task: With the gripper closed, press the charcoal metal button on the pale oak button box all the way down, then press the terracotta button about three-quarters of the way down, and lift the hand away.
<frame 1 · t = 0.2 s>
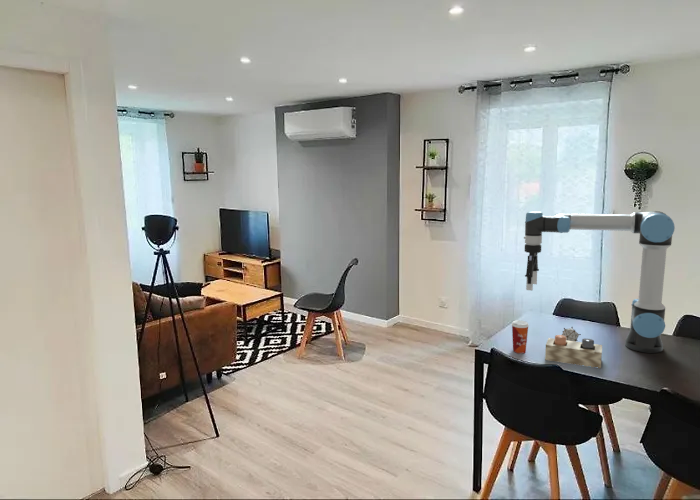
hand: (531, 287, 228), 28 cm above the table, tool pointing down, fingers open, 13 cm apart
terracotta button: (560, 342, 209), point 7 cm above the table, slide at 0.0 cm
charcoal button: (587, 346, 204), point 7 cm above the table, slide at 0.0 cm
button box: (573, 359, 208), on the table
paper cup: (519, 351, 220), on the table
spiked grey ball: (569, 344, 228), on the table
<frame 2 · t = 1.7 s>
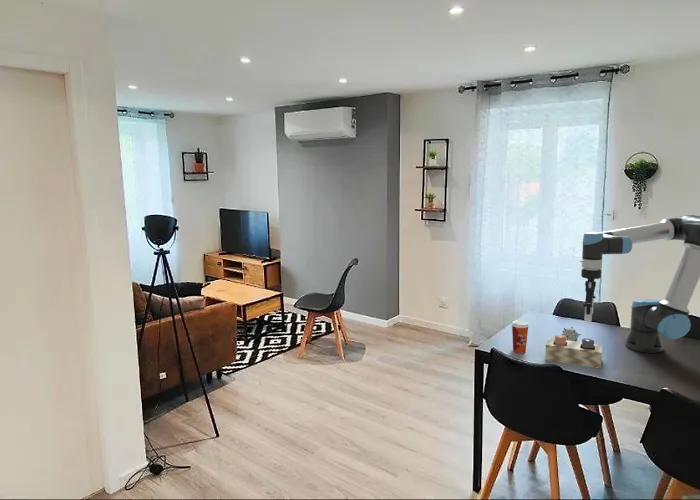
hand: (588, 317, 202), 20 cm above the table, tool pointing down, fingers open, 12 cm apart
nothing on the table moved.
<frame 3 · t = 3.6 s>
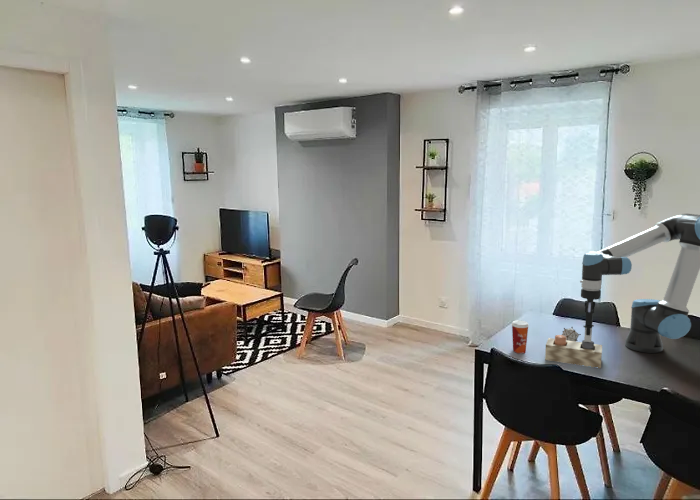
hand: (587, 341, 204), 10 cm above the table, tool pointing down, fingers closed
charcoal button: (587, 347, 204), point 7 cm above the table, slide at 0.7 cm, touching gripper
everything else where it was.
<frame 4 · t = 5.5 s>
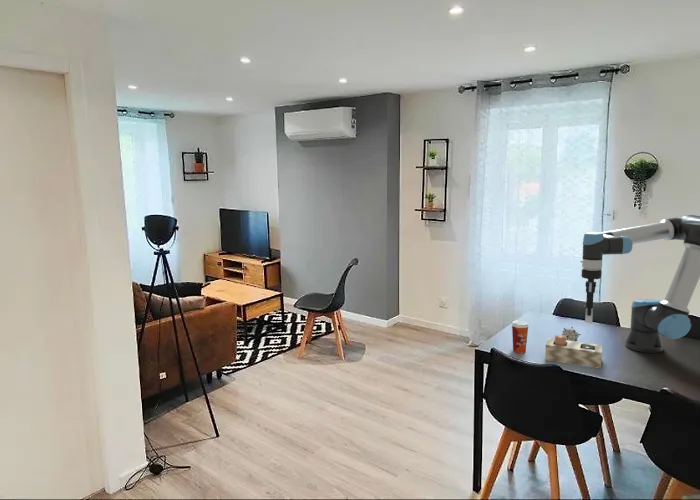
hand: (588, 321, 202), 18 cm above the table, tool pointing down, fingers closed
charcoal button: (587, 353, 205), point 4 cm above the table, slide at 3.2 cm
everything else where it was.
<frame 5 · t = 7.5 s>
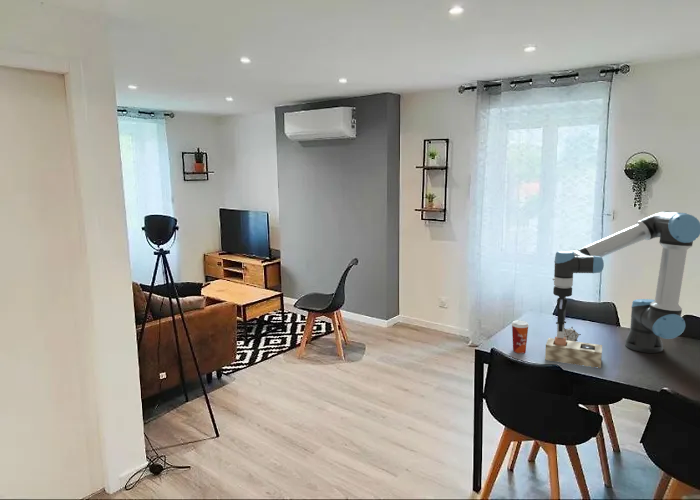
hand: (560, 337, 209), 10 cm above the table, tool pointing down, fingers closed
terracotta button: (560, 343, 210), point 7 cm above the table, slide at 0.6 cm, touching gripper
everything else where it was.
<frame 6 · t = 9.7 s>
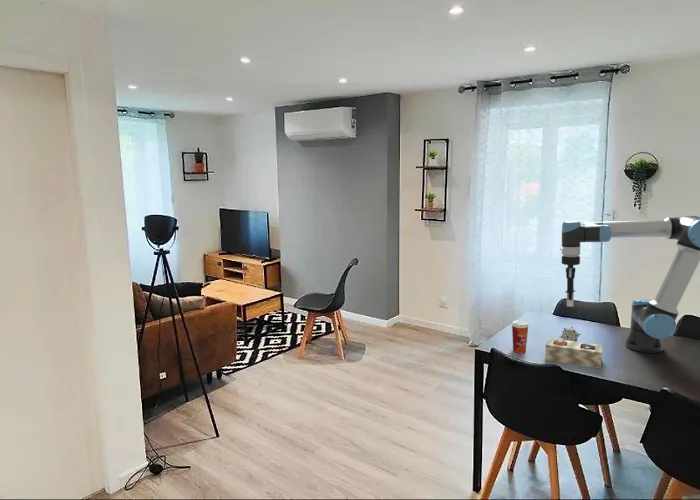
hand: (570, 306, 214), 22 cm above the table, tool pointing down, fingers closed
terracotta button: (560, 346, 210), point 5 cm above the table, slide at 2.0 cm
everything else where it was.
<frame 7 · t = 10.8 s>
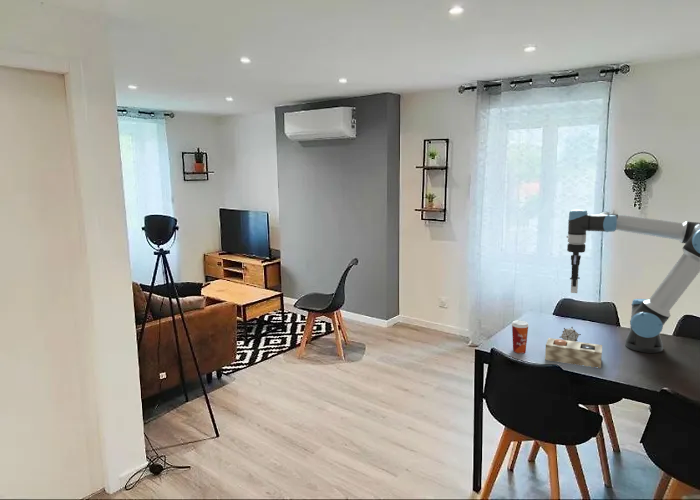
hand: (574, 292, 220), 26 cm above the table, tool pointing down, fingers closed
nothing on the table moved.
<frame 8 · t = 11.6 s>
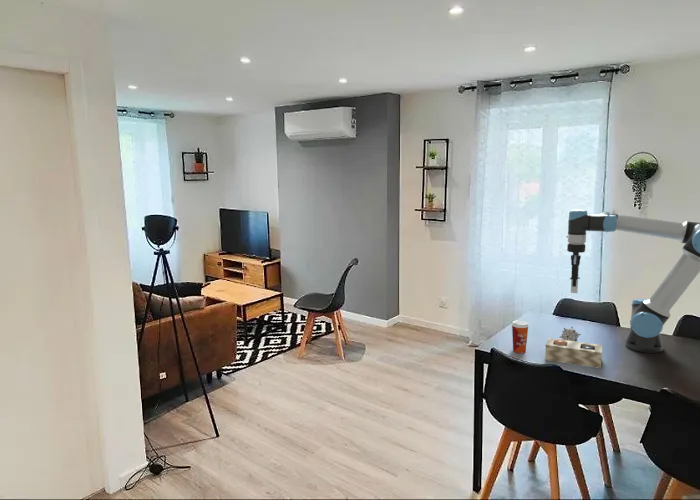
hand: (574, 292, 220), 26 cm above the table, tool pointing down, fingers closed
nothing on the table moved.
at the end: charcoal button slide at 3.2 cm; terracotta button slide at 2.0 cm; paper cup moved 0.2 cm from its start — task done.
